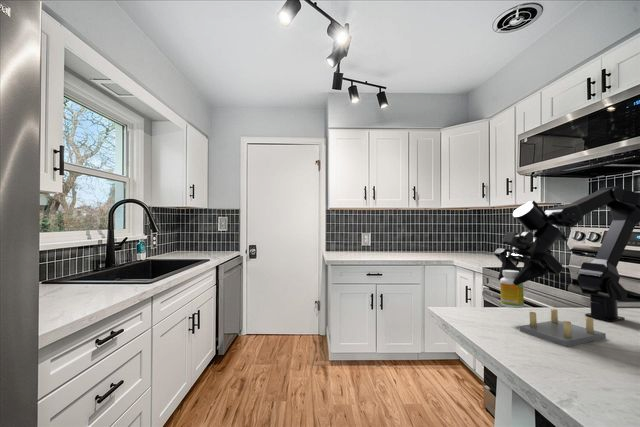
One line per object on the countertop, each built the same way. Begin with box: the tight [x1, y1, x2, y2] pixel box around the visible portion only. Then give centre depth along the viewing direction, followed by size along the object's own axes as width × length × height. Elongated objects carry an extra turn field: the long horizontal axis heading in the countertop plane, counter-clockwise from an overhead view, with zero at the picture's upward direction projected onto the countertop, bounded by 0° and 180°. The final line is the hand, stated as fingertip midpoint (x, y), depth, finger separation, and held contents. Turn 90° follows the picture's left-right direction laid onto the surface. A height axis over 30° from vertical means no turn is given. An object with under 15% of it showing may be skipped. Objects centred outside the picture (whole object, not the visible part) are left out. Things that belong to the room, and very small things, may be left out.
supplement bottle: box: [499, 270, 525, 309], centre depth 84 cm, size 5×5×10 cm
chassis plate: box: [518, 308, 607, 348], centre depth 75 cm, size 14×11×5 cm
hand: (506, 282), depth 84 cm, fingers closed on supplement bottle, 5 cm apart
